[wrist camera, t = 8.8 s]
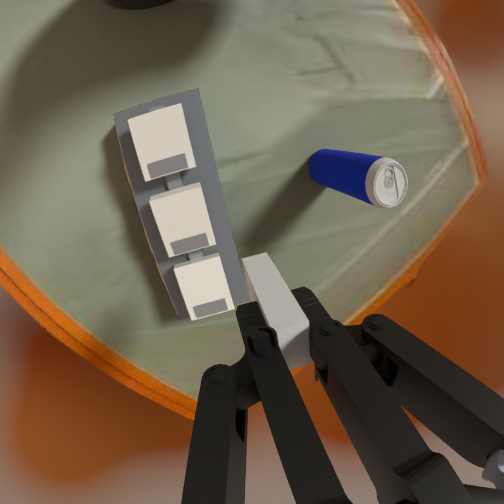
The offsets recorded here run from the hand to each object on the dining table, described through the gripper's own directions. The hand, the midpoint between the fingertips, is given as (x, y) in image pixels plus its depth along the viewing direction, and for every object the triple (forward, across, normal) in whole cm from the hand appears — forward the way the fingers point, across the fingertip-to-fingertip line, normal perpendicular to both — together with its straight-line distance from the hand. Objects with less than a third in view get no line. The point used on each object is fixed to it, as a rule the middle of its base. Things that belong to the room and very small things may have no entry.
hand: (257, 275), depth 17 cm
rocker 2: (+16, -5, 0) cm, 17 cm away
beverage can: (+21, +15, +1) cm, 26 cm away
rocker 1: (+16, -5, +9) cm, 19 cm away
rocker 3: (+16, -5, -9) cm, 19 cm away
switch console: (+21, -5, 0) cm, 22 cm away
